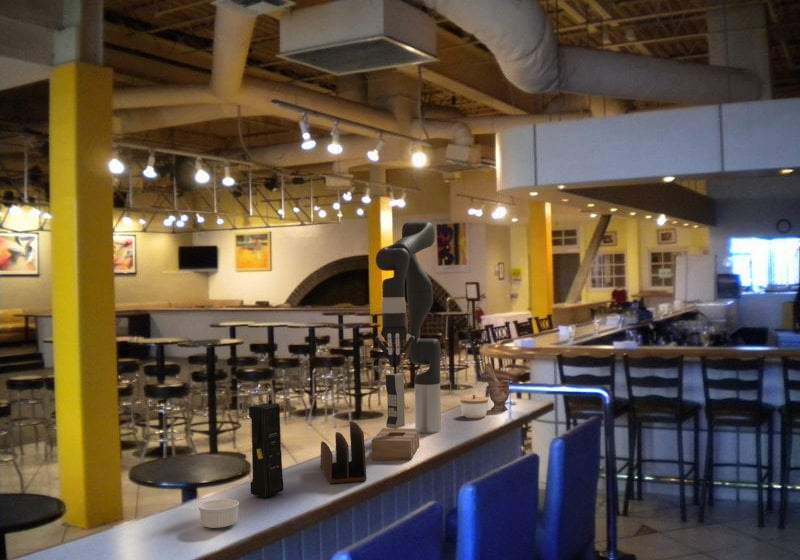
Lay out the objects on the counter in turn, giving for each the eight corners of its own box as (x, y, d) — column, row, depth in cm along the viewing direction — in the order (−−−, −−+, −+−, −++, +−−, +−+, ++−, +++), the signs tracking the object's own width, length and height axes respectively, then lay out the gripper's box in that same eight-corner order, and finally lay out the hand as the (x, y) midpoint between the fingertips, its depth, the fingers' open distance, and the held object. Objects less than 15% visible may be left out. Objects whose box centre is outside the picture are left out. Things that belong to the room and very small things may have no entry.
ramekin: (192, 528, 172) (191, 508, 172) (209, 516, 180) (209, 497, 180) (229, 530, 170) (229, 510, 170) (245, 518, 179) (245, 499, 179)
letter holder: (353, 465, 230) (352, 417, 230) (366, 481, 211) (365, 429, 211) (320, 468, 228) (319, 419, 228) (330, 484, 208) (329, 431, 208)
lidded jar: (474, 415, 314) (474, 392, 314) (493, 418, 305) (493, 394, 305) (455, 418, 307) (454, 395, 307) (474, 422, 298) (473, 397, 299)
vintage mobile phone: (386, 427, 244) (384, 347, 244) (395, 425, 248) (393, 346, 248) (396, 428, 242) (394, 348, 242) (404, 426, 246) (403, 347, 246)
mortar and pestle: (478, 412, 320) (477, 364, 321) (488, 409, 327) (487, 362, 328) (503, 414, 314) (502, 365, 314) (513, 411, 321) (512, 363, 321)
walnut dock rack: (383, 446, 256) (382, 428, 256) (419, 446, 254) (419, 428, 254) (371, 460, 236) (371, 440, 236) (411, 460, 234) (410, 440, 234)
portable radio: (265, 498, 194) (264, 398, 195) (247, 496, 197) (245, 397, 198) (285, 491, 201) (283, 394, 201) (266, 488, 204) (265, 393, 204)
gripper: (416, 310, 248) (417, 365, 248) (375, 311, 250) (376, 365, 250) (413, 311, 241) (414, 367, 240) (370, 312, 243) (371, 368, 242)
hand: (394, 366), depth 245 cm, fingers closed
